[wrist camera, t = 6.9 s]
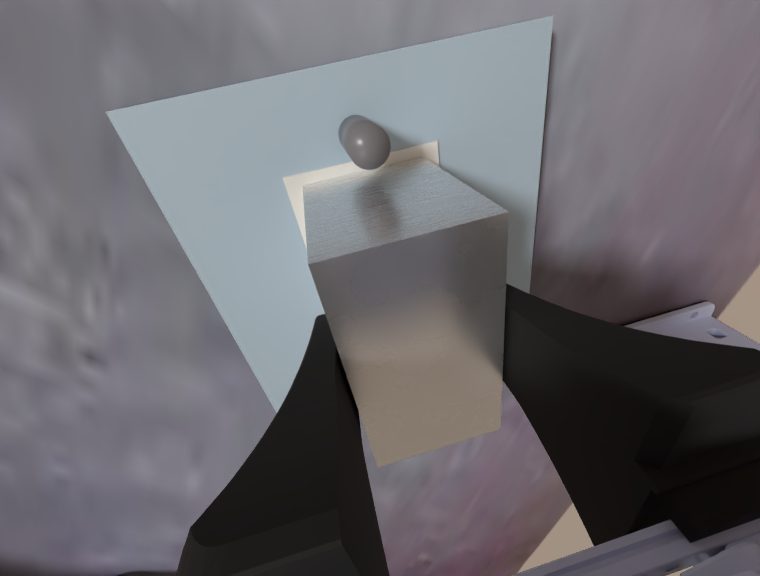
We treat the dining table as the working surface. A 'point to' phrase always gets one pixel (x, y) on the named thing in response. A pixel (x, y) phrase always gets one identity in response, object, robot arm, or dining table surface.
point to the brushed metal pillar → (412, 301)
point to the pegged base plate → (335, 166)
